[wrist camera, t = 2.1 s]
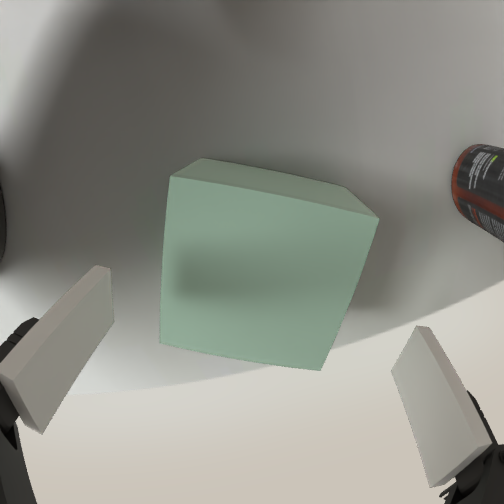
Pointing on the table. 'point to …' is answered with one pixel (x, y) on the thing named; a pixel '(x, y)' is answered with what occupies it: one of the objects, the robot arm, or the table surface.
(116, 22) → the table surface
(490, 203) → the supplement bottle
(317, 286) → the sage green foam cube
